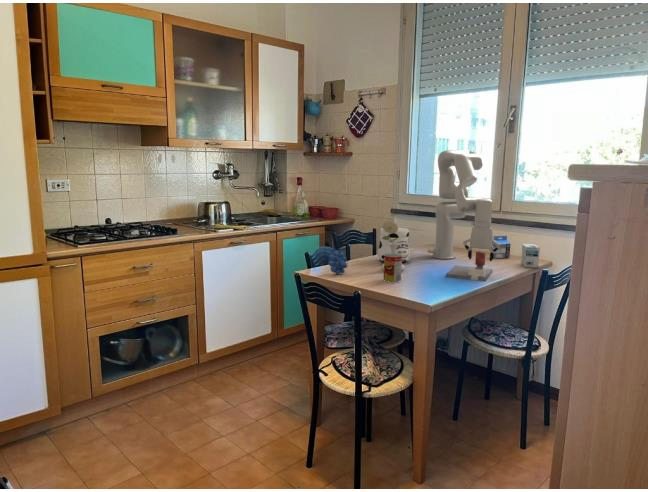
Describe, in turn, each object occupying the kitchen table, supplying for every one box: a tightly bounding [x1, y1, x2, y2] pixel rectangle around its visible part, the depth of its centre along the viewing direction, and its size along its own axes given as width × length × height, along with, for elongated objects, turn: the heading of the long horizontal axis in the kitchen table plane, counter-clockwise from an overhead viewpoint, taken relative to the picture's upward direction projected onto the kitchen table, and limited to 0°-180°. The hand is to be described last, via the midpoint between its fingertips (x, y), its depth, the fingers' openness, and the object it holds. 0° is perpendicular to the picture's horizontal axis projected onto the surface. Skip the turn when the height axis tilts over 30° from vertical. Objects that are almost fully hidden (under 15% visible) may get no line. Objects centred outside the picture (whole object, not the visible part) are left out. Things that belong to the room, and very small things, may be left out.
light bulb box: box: [520, 243, 541, 269], centre depth 246 cm, size 11×7×11 cm, turn 169°
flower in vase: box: [381, 220, 405, 272], centre depth 233 cm, size 13×11×25 cm
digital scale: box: [445, 264, 493, 282], centre depth 227 cm, size 18×20×2 cm
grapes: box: [328, 250, 348, 275], centre depth 224 cm, size 12×7×12 cm, turn 133°
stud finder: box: [468, 266, 487, 277], centre depth 219 cm, size 7×5×3 cm
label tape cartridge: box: [492, 235, 511, 260], centre depth 265 cm, size 9×4×12 cm, turn 104°
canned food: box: [383, 253, 403, 283], centre depth 214 cm, size 8×8×12 cm
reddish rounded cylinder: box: [474, 250, 486, 268], centre depth 228 cm, size 4×4×9 cm
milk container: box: [377, 226, 411, 264], centre depth 253 cm, size 17×17×18 cm
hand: (480, 259), depth 228 cm, fingers open, 9 cm apart
